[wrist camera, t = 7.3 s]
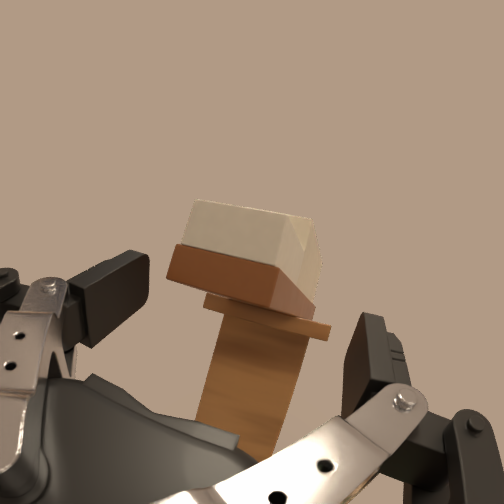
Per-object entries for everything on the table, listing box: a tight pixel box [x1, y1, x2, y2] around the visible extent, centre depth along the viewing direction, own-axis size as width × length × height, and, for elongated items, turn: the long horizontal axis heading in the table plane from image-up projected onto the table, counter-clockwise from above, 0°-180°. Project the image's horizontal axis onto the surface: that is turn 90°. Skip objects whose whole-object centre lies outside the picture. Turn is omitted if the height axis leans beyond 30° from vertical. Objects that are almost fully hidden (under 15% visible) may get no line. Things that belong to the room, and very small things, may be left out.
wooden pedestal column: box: [195, 293, 331, 463], centre depth 21 cm, size 10×8×32 cm
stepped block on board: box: [166, 199, 323, 321], centre depth 21 cm, size 20×4×6 cm, turn 164°
